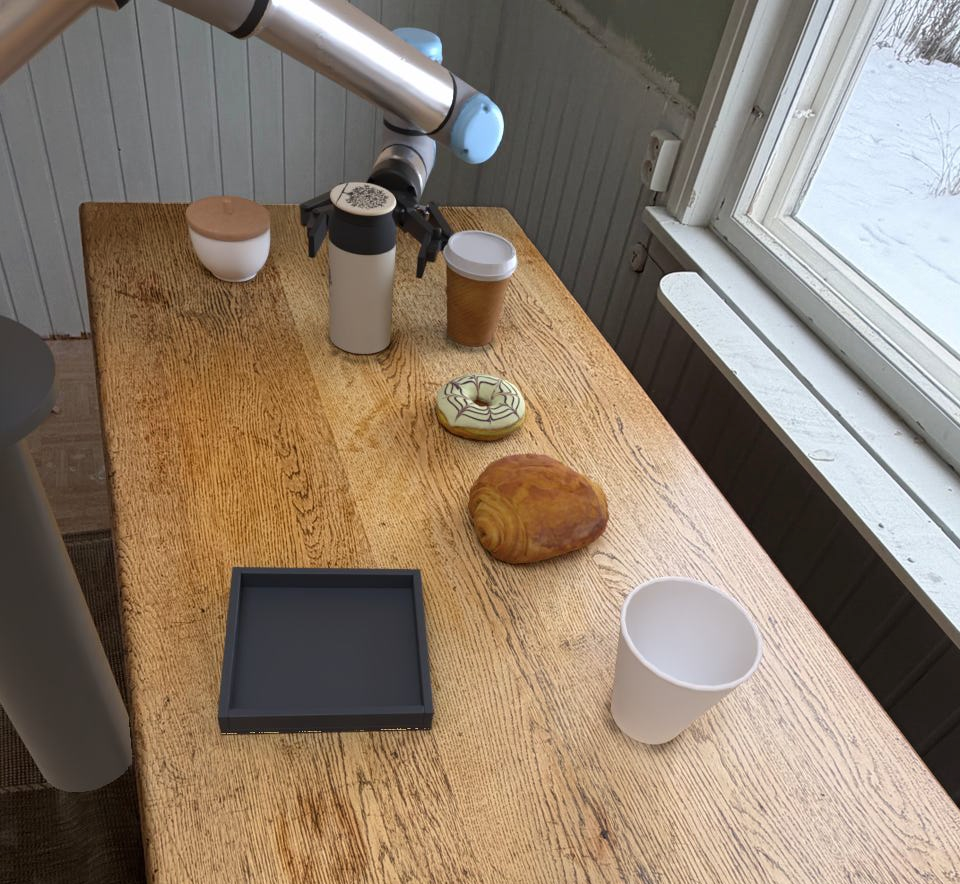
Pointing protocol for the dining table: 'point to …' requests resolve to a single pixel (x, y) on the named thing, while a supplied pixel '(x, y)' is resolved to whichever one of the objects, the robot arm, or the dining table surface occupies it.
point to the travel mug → (361, 267)
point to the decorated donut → (480, 407)
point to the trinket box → (229, 236)
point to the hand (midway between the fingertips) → (365, 257)
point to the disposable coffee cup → (476, 284)
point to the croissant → (535, 508)
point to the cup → (679, 656)
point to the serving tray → (325, 651)
